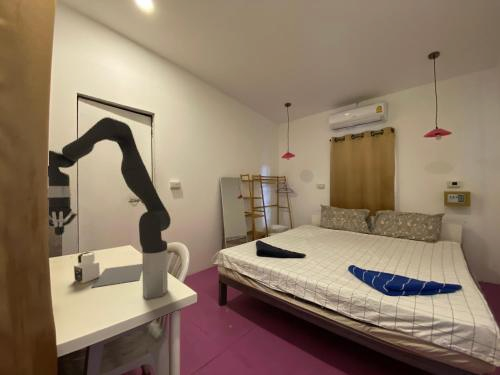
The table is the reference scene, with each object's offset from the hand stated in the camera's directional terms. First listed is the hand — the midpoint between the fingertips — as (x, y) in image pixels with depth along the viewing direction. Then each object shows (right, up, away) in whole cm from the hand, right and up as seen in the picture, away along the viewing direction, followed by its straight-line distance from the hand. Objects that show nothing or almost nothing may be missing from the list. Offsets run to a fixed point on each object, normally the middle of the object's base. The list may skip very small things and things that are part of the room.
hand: (59, 234), depth 93 cm
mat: (+22, -21, +9) cm, 32 cm away
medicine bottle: (+9, -22, +4) cm, 24 cm away
